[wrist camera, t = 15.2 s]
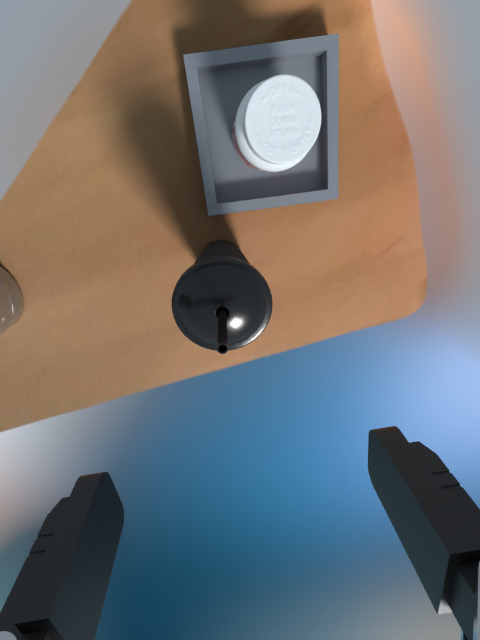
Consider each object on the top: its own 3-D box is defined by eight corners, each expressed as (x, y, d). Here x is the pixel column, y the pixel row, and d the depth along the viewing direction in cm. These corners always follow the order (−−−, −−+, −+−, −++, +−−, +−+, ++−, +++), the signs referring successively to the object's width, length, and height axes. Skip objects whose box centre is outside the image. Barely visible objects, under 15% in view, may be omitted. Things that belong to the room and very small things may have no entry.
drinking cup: (269, 259, 38) (314, 343, 20) (224, 305, 40) (227, 421, 22) (219, 211, 35) (216, 258, 17) (174, 263, 38) (129, 354, 19)
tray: (209, 212, 35) (208, 216, 33) (186, 63, 30) (183, 54, 28) (330, 196, 35) (338, 198, 33) (329, 43, 30) (338, 33, 28)
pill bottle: (283, 178, 34) (310, 184, 24) (224, 160, 33) (226, 157, 23) (304, 110, 31) (345, 83, 21) (241, 87, 30) (252, 48, 20)
